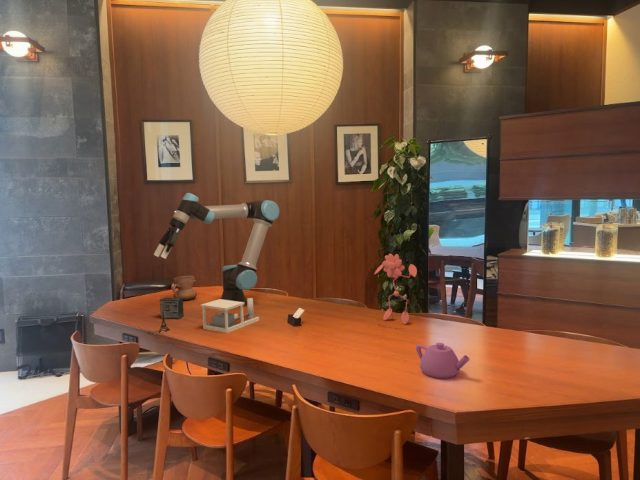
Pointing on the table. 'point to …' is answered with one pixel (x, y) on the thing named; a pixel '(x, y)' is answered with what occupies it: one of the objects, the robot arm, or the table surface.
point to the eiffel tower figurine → (162, 325)
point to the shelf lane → (225, 306)
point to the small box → (172, 308)
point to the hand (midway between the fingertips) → (159, 256)
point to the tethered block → (232, 316)
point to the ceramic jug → (184, 288)
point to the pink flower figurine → (395, 269)
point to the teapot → (440, 361)
